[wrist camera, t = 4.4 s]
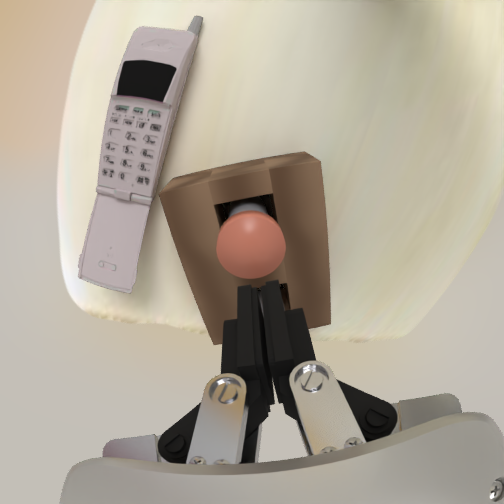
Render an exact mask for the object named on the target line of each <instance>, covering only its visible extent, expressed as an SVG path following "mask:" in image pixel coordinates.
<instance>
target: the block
mask: <svg viewBox="0 0 504 504" xmlns="http://www.w3.org/2000/svg"><path fill="white" fill-rule="evenodd" d="M265 194H269V195H270V201H271V206H272V212H273V218H274V220H275V221H276V222H277V223H278V224H279V226H280V228H281V231H282V233H283V236H284V239H285V243H286V251H285V256H284V258H283V260H282V262H281V264H280V265H279V266H278V267H277V268H276V269H275V270H274V271H273V272H271V273H270V274H268V275H266V276H263V277H260V278H255V279H246V278H240V277H237V276H235V275H233V274H231V273H229V272H228V271H227V270H226V269H225V268H224V267H223V266H222V265H221V263H220V261H219V259H218V257H217V252H216V246H217V239H218V233H219V230H220V228H221V226H222V225H223V223H224V222H225V221H226V217H225V213H224V209H223V205H222V203H225V202H230V201H235V200H240V199H245V198H250V197H255V196H260V195H265ZM159 197H160V200H161V203H162V206H163V209H164V213H165V216H166V219H167V222H168V225H169V228H170V231H171V234H172V237H173V240H174V243H175V246H176V249H177V251H178V254H179V257H180V260H181V263H182V266H183V268H184V271H185V274H186V277H187V279H188V282H189V285H190V287H191V290H192V292H193V295H194V298H195V300H196V303H197V305H198V308H199V310H200V313H201V315H202V318H203V320H204V323H205V325H206V328H207V330H208V333H209V335H210V337H211V340H212V342H213V344H214V345H218V344H222V341H223V324H224V320H231V319H237V287H238V286H243V285H249V284H251V286H252V288H253V287H257V288H261V286H264V285H266V284H265V282H266V281H272V280H279V284H283V283H284V286H285V289H281V290H280V291H281V296H282V299H283V304H284V308H285V311H286V310H292V309H297V308H303V311H304V315H305V318H306V322H307V326H308V329H311V328H316V327H320V326H325V325H329V324H331V302H330V269H329V249H328V233H327V220H326V208H325V197H324V187H323V178H322V169H321V161H319V160H318V159H316V158H315V157H313V156H311V155H310V154H308V153H306V152H298V153H292V154H285V155H279V156H273V157H267V158H262V159H256V160H251V161H246V162H241V163H236V164H231V165H226V166H222V167H217V168H213V169H208V170H204V171H200V172H195V173H191V174H187V175H183V176H179V177H176V178H173V179H172V180H171V181H170V182H169V183H168V184H167V185H166V186H165V188H164V189H163V190H162V191H161V192H160V193H159Z"/></svg>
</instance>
